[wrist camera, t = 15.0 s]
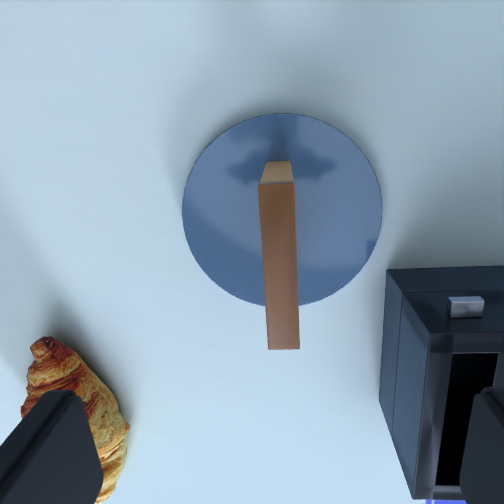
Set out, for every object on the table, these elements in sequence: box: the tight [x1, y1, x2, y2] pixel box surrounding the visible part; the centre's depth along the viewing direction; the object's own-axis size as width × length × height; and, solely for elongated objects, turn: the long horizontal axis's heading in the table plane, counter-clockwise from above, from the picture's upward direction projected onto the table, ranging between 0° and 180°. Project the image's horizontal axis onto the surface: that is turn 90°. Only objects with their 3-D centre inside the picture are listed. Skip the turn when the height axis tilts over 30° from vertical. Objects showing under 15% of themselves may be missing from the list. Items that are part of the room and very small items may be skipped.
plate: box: [182, 113, 382, 306], centre depth 30 cm, size 16×16×1 cm
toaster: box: [379, 266, 504, 501], centre depth 29 cm, size 11×15×10 cm
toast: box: [258, 161, 300, 350], centre depth 25 cm, size 2×10×10 cm, turn 4°
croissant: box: [20, 336, 130, 504], centre depth 37 cm, size 21×10×8 cm, turn 9°
